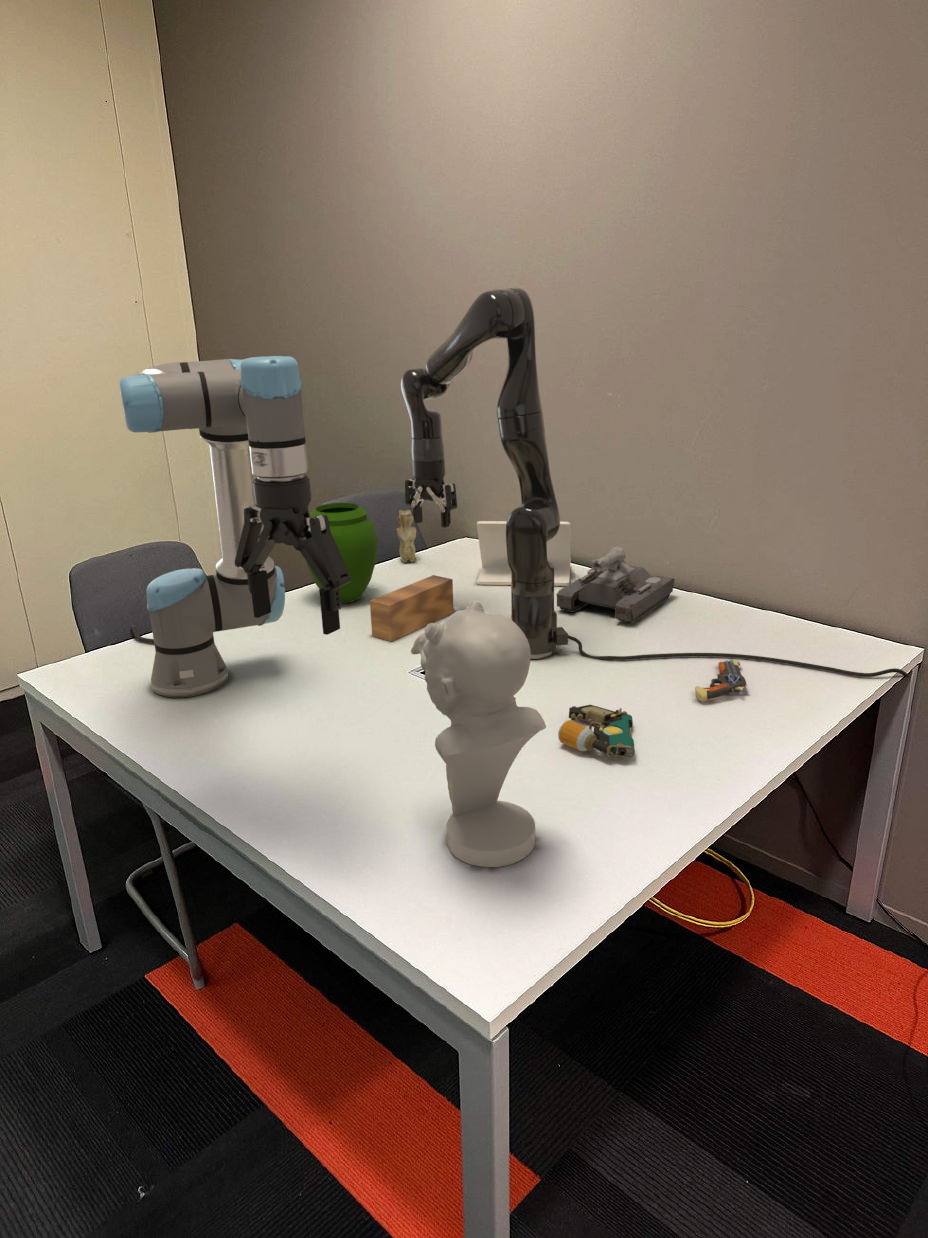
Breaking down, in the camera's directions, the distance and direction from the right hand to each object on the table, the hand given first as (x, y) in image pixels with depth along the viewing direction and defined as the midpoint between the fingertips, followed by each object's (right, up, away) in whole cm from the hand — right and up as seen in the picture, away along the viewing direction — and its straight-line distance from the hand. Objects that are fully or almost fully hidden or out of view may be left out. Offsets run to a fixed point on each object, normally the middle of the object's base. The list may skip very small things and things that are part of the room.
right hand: (432, 524), depth 204 cm
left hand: (-16, -23, -81) cm, 86 cm away
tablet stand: (+25, -10, +35) cm, 44 cm away
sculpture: (-9, -5, +52) cm, 53 cm away
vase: (-24, -17, +21) cm, 36 cm away
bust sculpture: (+9, -54, -79) cm, 96 cm away
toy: (+46, -19, +10) cm, 51 cm away
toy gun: (+58, -36, -34) cm, 77 cm away
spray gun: (+32, -44, -53) cm, 76 cm away
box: (-4, -24, +2) cm, 24 cm away
